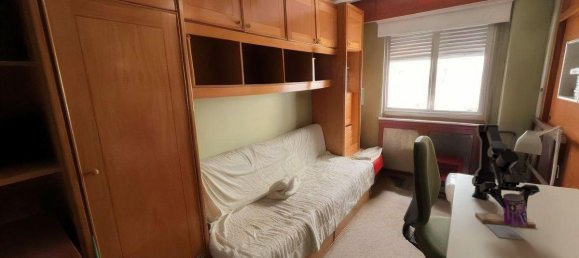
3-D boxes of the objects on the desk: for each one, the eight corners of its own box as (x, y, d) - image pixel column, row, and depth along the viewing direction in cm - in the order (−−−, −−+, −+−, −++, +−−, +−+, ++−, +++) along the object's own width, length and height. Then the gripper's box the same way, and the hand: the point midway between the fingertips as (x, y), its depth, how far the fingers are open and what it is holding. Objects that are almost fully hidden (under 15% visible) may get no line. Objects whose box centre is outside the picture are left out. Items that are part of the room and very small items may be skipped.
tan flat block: (525, 219, 111) (525, 216, 110) (535, 227, 105) (536, 223, 105) (475, 215, 115) (475, 212, 114) (482, 222, 109) (482, 219, 109)
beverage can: (519, 231, 96) (516, 202, 95) (500, 222, 103) (497, 196, 102) (532, 225, 98) (530, 197, 96) (512, 217, 105) (510, 191, 103)
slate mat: (509, 226, 106) (509, 226, 106) (524, 240, 97) (524, 239, 97) (485, 224, 107) (485, 224, 107) (498, 237, 99) (498, 236, 99)
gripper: (486, 163, 102) (497, 200, 94) (541, 166, 98) (557, 205, 90) (475, 174, 111) (484, 208, 103) (524, 177, 107) (538, 213, 99)
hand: (514, 209), depth 98 cm, fingers closed on beverage can, 7 cm apart
